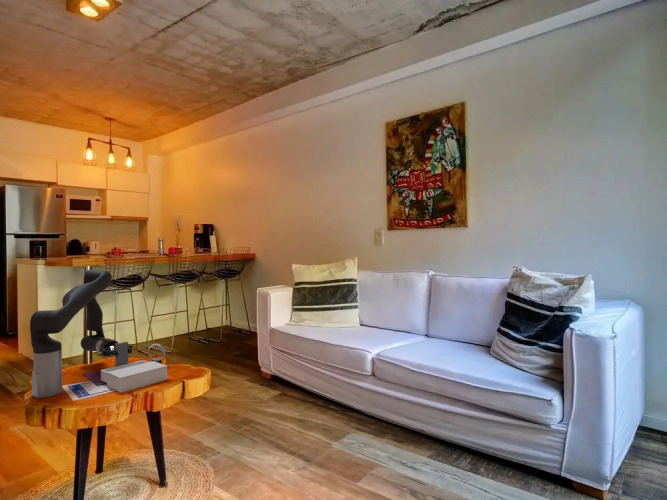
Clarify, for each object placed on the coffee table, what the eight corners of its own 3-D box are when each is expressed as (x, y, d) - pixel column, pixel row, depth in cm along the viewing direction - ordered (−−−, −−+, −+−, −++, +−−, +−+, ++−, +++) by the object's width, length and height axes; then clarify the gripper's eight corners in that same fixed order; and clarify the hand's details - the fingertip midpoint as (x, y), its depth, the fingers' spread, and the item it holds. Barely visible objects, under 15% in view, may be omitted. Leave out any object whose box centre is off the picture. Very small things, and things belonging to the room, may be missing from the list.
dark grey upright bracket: (112, 385, 169) (112, 351, 168) (99, 379, 177) (98, 346, 176) (155, 374, 183) (154, 342, 183) (141, 368, 191) (140, 338, 191)
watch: (166, 367, 196) (165, 344, 196) (147, 369, 193) (147, 346, 193) (165, 363, 202) (165, 341, 201) (147, 366, 198) (147, 343, 198)
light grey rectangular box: (120, 392, 162) (120, 377, 162) (107, 386, 170) (106, 372, 170) (167, 379, 178) (167, 365, 178) (153, 374, 186) (153, 361, 186)
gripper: (91, 342, 186) (107, 347, 176) (123, 336, 198) (140, 341, 187) (91, 358, 187) (107, 364, 176) (123, 351, 198) (140, 357, 187)
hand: (124, 352), depth 182 cm, fingers closed on dark grey upright bracket, 5 cm apart
